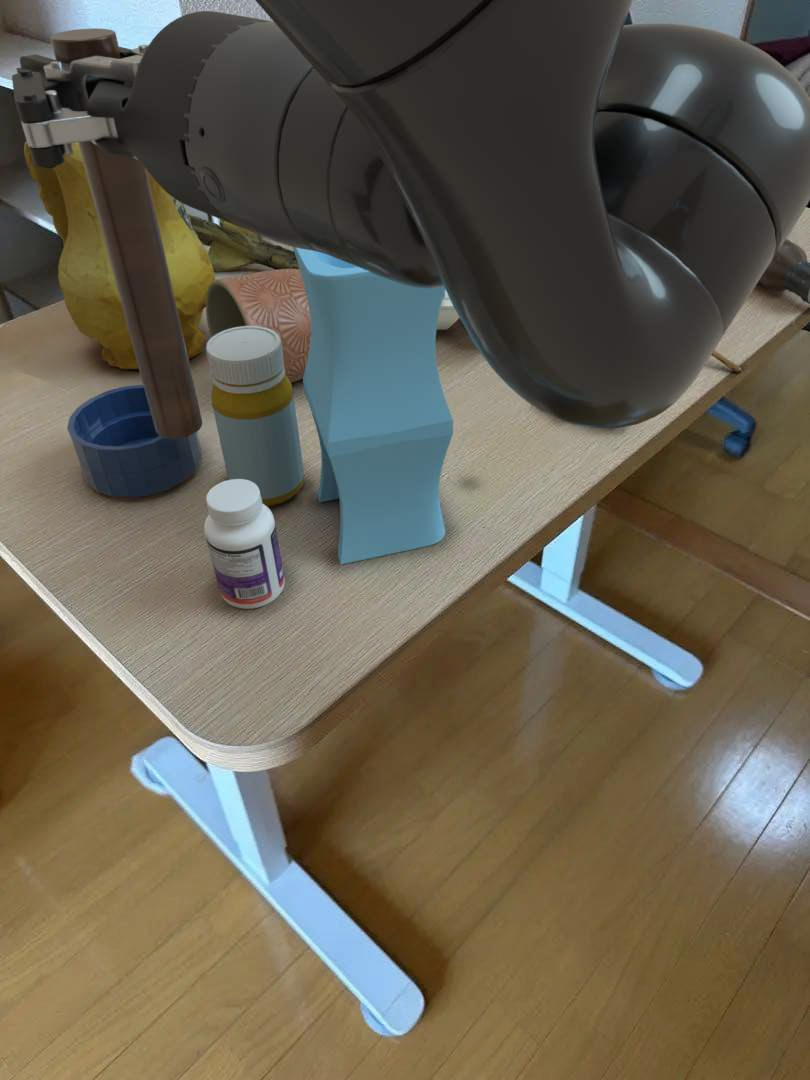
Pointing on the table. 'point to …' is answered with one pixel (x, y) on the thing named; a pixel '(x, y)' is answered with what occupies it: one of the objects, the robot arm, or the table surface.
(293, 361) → the planter
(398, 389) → the vase
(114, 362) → the pitcher
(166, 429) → the stirring stick
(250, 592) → the pill bottle
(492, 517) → the table surface
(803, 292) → the sauce bottle
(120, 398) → the bowl
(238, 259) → the missile
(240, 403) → the bottle
